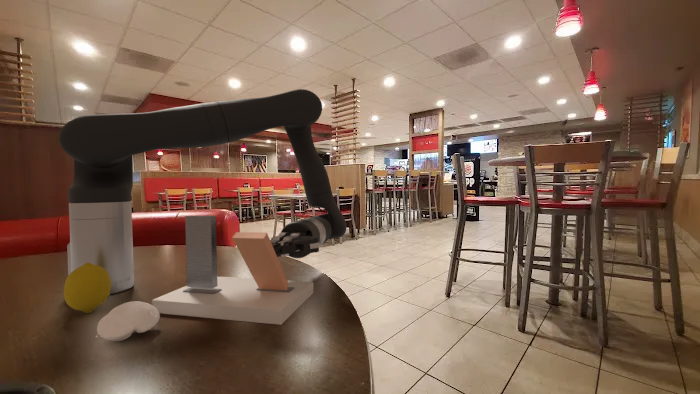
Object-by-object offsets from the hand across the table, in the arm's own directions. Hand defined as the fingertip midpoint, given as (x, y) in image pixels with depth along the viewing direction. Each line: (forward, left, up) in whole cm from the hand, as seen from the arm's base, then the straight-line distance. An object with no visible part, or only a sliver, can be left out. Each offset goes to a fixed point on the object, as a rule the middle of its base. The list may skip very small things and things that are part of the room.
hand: (263, 254), depth 46 cm
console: (-6, +2, -9) cm, 11 cm away
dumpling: (-13, -11, -9) cm, 20 cm away
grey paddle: (-12, +1, -7) cm, 14 cm away
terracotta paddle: (0, +4, -7) cm, 8 cm away
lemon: (-27, -6, -9) cm, 29 cm away
